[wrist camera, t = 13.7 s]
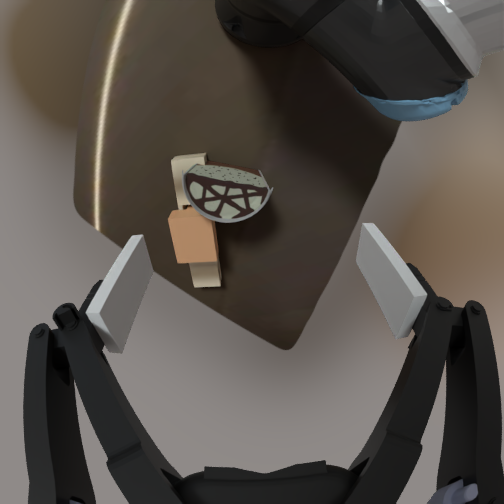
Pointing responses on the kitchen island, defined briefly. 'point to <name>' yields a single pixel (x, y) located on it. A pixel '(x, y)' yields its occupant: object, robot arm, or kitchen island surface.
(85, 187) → the kitchen island surface
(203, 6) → the kitchen island surface
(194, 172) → the grey green half-round piece
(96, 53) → the kitchen island surface
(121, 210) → the kitchen island surface
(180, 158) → the rail
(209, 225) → the tan toy stool
